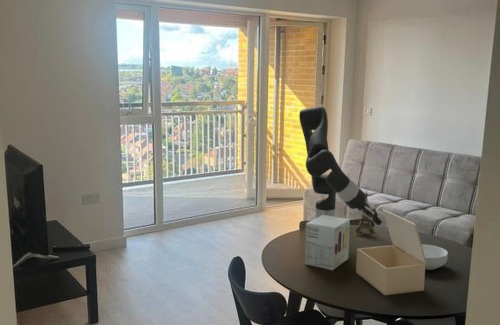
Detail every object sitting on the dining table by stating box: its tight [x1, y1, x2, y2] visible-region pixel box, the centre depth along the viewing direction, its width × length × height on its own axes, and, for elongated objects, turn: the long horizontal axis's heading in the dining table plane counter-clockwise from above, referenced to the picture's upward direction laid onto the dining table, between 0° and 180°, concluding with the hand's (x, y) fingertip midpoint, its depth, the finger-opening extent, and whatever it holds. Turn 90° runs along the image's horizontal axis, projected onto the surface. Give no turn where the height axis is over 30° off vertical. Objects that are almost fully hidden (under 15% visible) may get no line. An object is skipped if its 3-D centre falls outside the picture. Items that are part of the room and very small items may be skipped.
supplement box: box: [304, 215, 351, 271], centre depth 203 cm, size 17×13×18 cm
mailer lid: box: [382, 208, 427, 264], centre depth 182 cm, size 16×22×1 cm
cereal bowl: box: [405, 243, 449, 271], centre depth 198 cm, size 17×17×7 cm
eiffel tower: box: [353, 186, 376, 238], centre depth 242 cm, size 11×11×25 cm
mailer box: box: [355, 244, 426, 296], centre depth 183 cm, size 16×22×10 cm
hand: (379, 223), depth 178 cm, fingers closed
